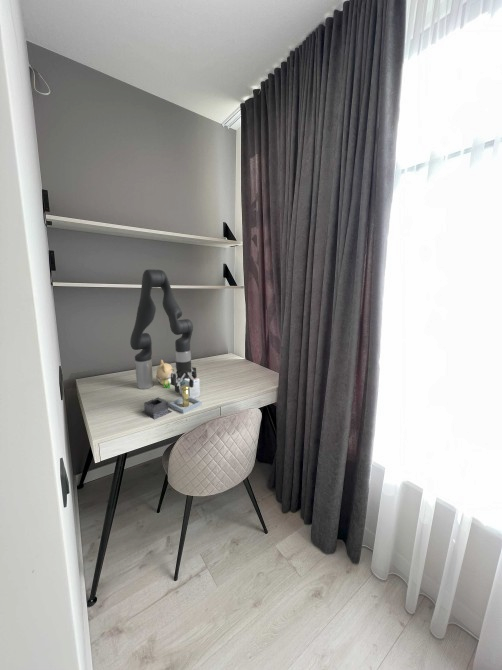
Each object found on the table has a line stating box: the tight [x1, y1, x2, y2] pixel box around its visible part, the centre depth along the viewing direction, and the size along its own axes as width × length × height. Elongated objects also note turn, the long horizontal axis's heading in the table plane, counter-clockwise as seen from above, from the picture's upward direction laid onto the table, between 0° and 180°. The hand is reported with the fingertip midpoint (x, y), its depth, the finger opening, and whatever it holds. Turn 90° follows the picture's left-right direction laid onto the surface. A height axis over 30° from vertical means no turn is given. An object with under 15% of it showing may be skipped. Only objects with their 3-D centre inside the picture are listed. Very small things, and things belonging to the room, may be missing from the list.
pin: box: [181, 385, 190, 408], centre depth 139 cm, size 4×4×11 cm
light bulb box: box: [179, 377, 201, 399], centre depth 154 cm, size 11×7×11 cm, turn 45°
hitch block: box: [141, 397, 173, 421], centre depth 133 cm, size 12×10×6 cm
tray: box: [168, 396, 202, 415], centre depth 140 cm, size 12×12×3 cm
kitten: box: [155, 359, 174, 389], centre depth 169 cm, size 15×10×15 cm
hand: (184, 389), depth 138 cm, fingers open, 8 cm apart
